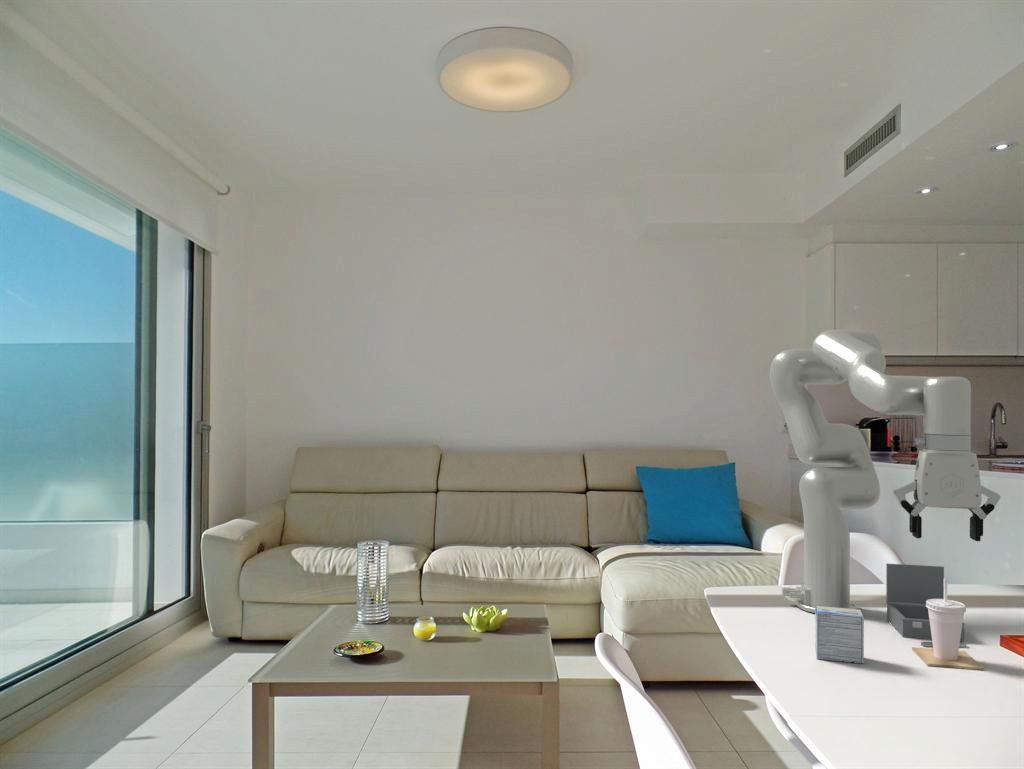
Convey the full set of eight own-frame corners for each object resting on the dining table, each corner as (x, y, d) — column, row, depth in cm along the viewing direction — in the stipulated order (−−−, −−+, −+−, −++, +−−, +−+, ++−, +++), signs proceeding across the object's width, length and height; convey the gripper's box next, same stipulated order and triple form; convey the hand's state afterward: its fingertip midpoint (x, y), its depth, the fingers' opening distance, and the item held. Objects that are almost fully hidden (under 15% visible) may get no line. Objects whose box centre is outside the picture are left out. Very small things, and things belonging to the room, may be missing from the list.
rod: (923, 648, 144) (923, 643, 144) (921, 647, 145) (921, 641, 145) (966, 649, 144) (966, 644, 144) (963, 647, 145) (963, 642, 145)
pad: (927, 665, 133) (927, 663, 133) (911, 649, 142) (911, 647, 142) (983, 670, 131) (983, 667, 131) (964, 653, 140) (964, 651, 140)
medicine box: (861, 657, 138) (861, 609, 138) (864, 665, 134) (864, 615, 134) (814, 651, 140) (815, 605, 141) (816, 659, 136) (816, 611, 136)
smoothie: (964, 653, 139) (963, 577, 139) (968, 665, 133) (968, 585, 133) (924, 648, 141) (924, 573, 142) (927, 659, 136) (927, 581, 136)
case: (903, 637, 149) (903, 577, 149) (886, 619, 162) (886, 563, 162) (965, 641, 147) (965, 580, 147) (942, 623, 159) (942, 566, 159)
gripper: (900, 444, 136) (899, 539, 136) (1008, 447, 132) (1007, 545, 132) (889, 441, 143) (888, 532, 143) (990, 444, 139) (990, 537, 139)
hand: (945, 538), depth 137 cm, fingers open, 9 cm apart
